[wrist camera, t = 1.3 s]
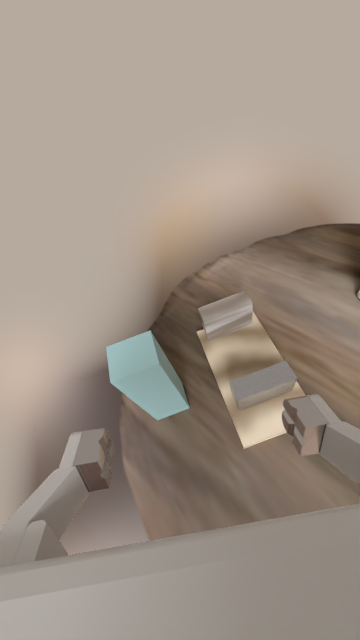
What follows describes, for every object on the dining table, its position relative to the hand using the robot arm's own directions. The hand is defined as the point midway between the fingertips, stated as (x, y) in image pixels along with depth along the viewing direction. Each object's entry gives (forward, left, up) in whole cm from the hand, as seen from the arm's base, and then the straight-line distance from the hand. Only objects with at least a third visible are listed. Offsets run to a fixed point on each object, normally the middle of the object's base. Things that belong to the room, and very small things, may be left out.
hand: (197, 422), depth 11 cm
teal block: (-5, -14, -31) cm, 34 cm away
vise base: (-16, -3, -31) cm, 35 cm away
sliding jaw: (-12, 0, -30) cm, 32 cm away
